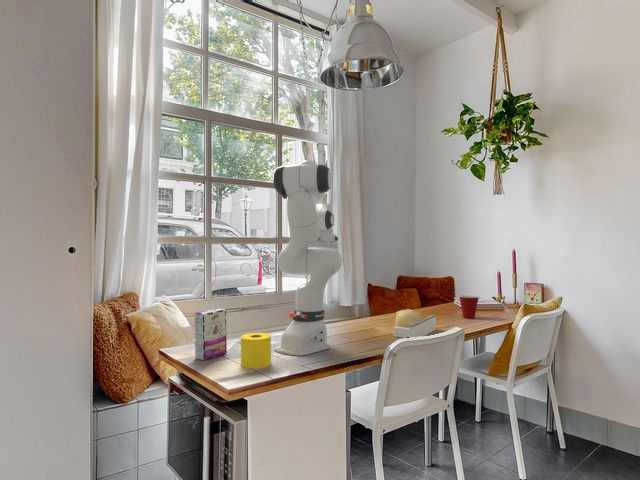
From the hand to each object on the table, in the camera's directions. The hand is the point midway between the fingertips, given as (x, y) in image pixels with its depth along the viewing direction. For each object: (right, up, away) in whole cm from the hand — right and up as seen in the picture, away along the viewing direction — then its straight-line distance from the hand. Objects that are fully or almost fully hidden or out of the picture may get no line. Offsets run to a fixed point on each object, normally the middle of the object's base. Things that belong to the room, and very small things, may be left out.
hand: (324, 266), depth 200 cm
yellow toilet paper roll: (-24, -30, -59) cm, 70 cm away
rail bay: (+40, -29, -14) cm, 51 cm away
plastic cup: (+78, -29, +23) cm, 86 cm away
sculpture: (+37, -29, -14) cm, 49 cm away
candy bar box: (-41, -30, -49) cm, 71 cm away
